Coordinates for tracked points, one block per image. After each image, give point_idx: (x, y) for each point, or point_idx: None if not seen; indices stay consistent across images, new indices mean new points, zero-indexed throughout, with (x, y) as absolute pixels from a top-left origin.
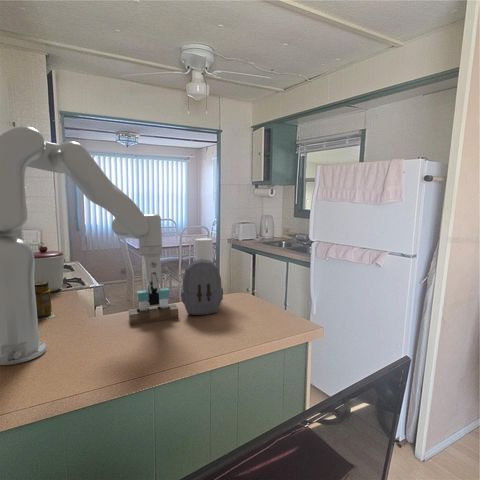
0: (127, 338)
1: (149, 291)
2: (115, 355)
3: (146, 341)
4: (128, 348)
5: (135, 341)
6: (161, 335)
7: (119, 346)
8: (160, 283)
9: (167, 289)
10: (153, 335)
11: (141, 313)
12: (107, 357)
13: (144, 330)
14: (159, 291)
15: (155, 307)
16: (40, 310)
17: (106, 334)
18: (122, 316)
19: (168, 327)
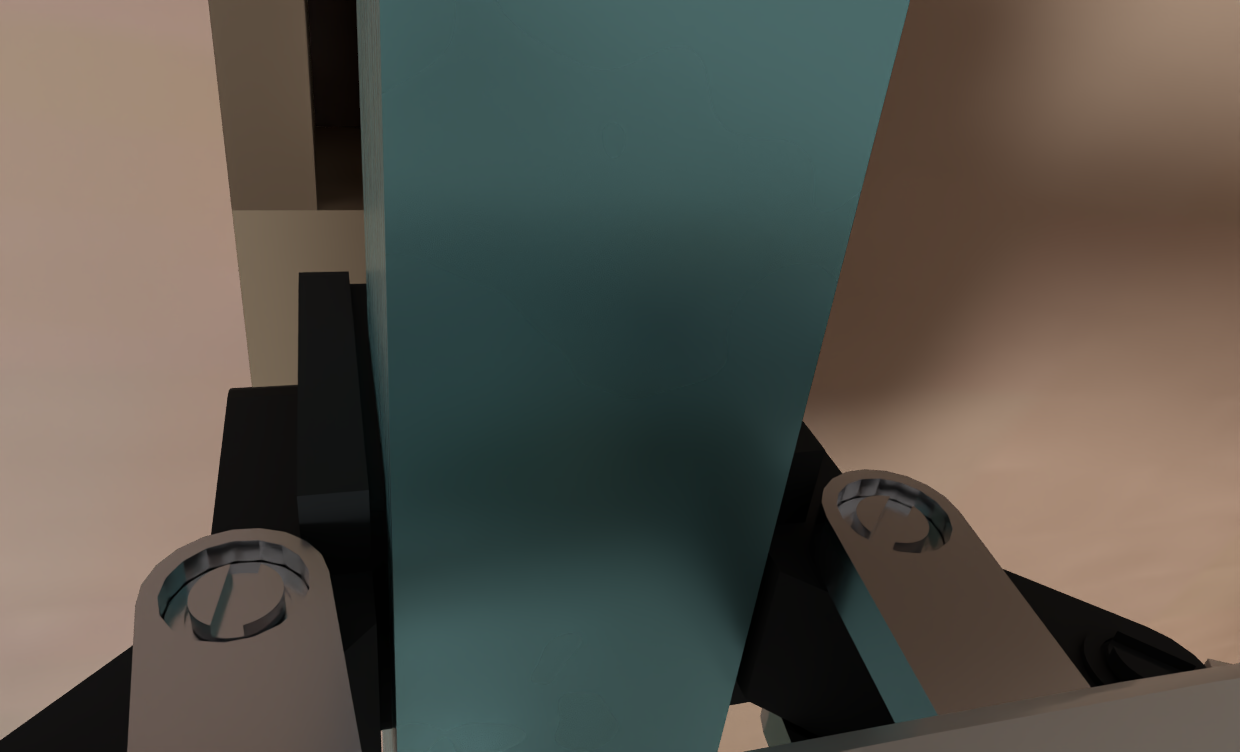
0: (984, 543)
1: (647, 744)
2: (1231, 592)
3: (1194, 375)
4: (1199, 519)
5: (1110, 472)
6: (1183, 200)
7: (1104, 586)
8: (1094, 689)
9: (770, 75)
10: (1109, 293)
11: None
12: (1215, 634)
13: (884, 385)
14: (778, 441)
15: (358, 255)
16: None
17: (747, 722)
18: (86, 678)
19: (1003, 42)
